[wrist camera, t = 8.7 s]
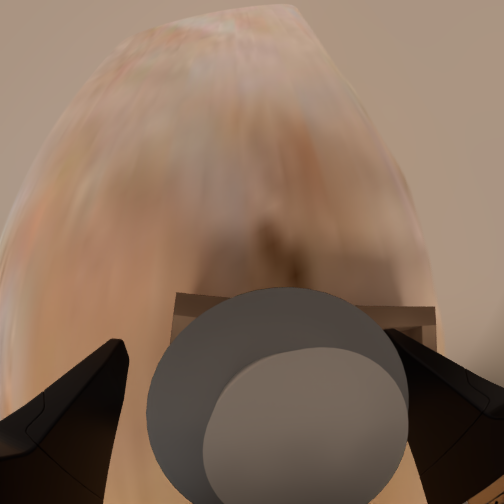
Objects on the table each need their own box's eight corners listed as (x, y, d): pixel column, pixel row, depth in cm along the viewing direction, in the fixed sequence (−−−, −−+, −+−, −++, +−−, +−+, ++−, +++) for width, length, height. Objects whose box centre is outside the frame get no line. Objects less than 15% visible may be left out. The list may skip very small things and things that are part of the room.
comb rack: (403, 427, 15) (431, 434, 12) (175, 430, 15) (162, 445, 11) (406, 316, 18) (434, 306, 15) (187, 305, 18) (176, 292, 14)
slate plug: (266, 423, 15) (372, 581, 1) (197, 393, 15) (66, 497, 2) (297, 358, 17) (493, 325, 3) (229, 328, 17) (215, 193, 3)
